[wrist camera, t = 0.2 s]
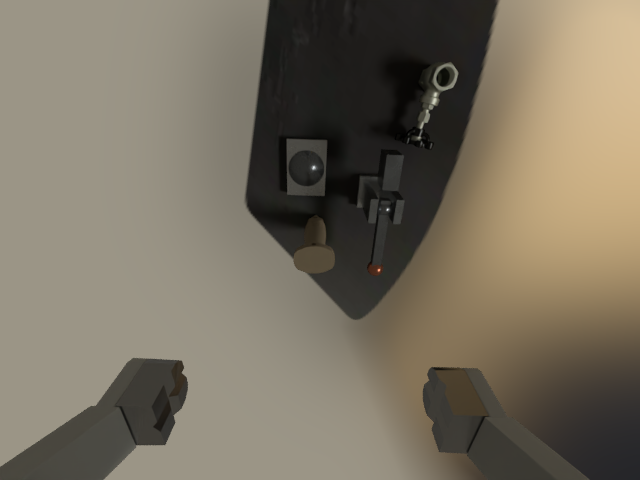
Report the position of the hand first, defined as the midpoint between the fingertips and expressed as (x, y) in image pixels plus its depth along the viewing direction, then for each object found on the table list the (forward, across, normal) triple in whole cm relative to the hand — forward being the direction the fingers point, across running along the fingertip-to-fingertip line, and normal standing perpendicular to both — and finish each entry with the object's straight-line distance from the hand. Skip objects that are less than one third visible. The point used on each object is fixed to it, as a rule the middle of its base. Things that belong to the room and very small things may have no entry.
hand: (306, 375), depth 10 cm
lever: (+40, -11, +10) cm, 43 cm away
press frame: (+47, -4, +5) cm, 48 cm away
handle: (+48, 0, +15) cm, 50 cm away
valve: (+48, -17, -7) cm, 51 cm away
